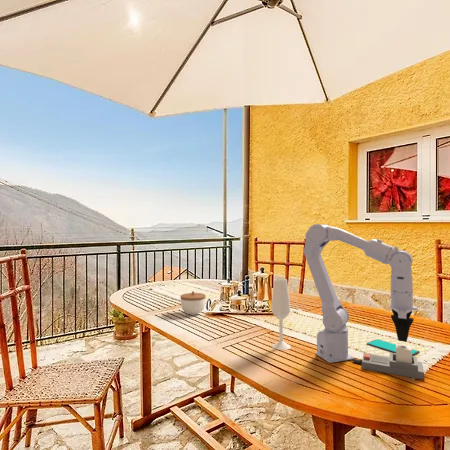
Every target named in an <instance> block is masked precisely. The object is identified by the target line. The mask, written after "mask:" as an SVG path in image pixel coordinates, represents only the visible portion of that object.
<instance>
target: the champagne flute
mask: <svg viewBox="0 0 450 450" xmlns="http://www.w3.org/2000/svg"><path fill="white" fill-rule="evenodd" d="M289 295H290V294H289V286H288V279H286V278H274V279H273V286H272V299H271V313H272V314H273V315H274V316H275V318H277V319H278V320H279V321H278V323H279V328H278V329H279V341H277V342H274V343H273V344H272V346H271V347H272V348H273V349H274V350H279V351H286V350H290V349H291V345H290V344H288V343H287V342H285V341H284V337H283V336H284V333H283V332H284V330H283V329H284V328H283V327H284V324H283V321H284V319H286V318H287V317H288V316H289V315H290V312H291V304H290V303H291V302H290V296H289Z"/></svg>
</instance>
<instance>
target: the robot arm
mask: <svg viewBox="0 0 450 450" xmlns="http://www.w3.org/2000/svg"><path fill="white" fill-rule="evenodd" d="M304 237H305V242H304V243H305V244H304V249H303V254H304V257H305V260H306V262H307V263H306V264H307V265H308V268H309V271H310V274H311V276H312V279H313V281H314V284H315V288H316V290H317V293H318V296H319V299H320V301H321V313H322V325H323V326H324V329H322V330H320V331H318V332H317V335H316V352H315V354H316V356H319V357H320V358H322V359H323V360H325V361H326V362H328V363H329V364H330V363H331V364H332V363H337V362H344V361H349V360H351V361H353V359H355V357H354V356H352V355H350V354H349V332H348V331H349V330H348V327H347V323H348V322H349V319H350V316H349V312H348V310H347V309H346V308H344V306H343V303H342V302H341V301H340V299H339V298H338V297H337V294H336V292H335V288H334V287H333V283H332V281H331V279H330V276H329V273H328V270H327V268H326V265H325V262H324V260H323V257H322V251H323V250H324V248H325V247H326V245H327V244H329V242H333V241H340V242H342V243H344V244H347V245H349V246H353V247H355V248H357V249H360V250H362V251H363V252H364V255H365V256H366V257H369V258H371V259H373V260H375V261H376V262H377V261H378V262H380V263H382V264H385V265H389V266H390V269H391V270H390V271H391V274H390V306H389V308H390V309H391V311H392V314H391V315H390V318H391V321H392V322H393V324H394V327H395V332H396V336H397V340H398V341H399V342H405V343H406V342H407V341H408V340H409V339H408V338H409V333H410V330H411V329H410V328H411V327H412V324H413V323H414V317H411V316H412V314H413V311H418V306H414V305H413V304H414V301H413V300H414V299H413V298H414V294H413V292H414V290H413V288H414V287H413V282H414V281H413V270H412V264H413V262H414V260H413V256H412V254H411V253H410V252H408V251H407V250H406V249H399V246H397V245H394V246H392V245H390V244H387V243H385V242H383V239H381V238H378V239H375V238H373V239H370V240H366V239H365V238H363V237H360V236H359V235H356V234H354V233H351V232H349V231H347V230H344V229H342V228H340V227H336V226H333V225H331V226H330V225H329V224H326V223H324V224H319V223H316V224H315V223H314V224H312V225H311V226H310V227H309V228H308V229H307V231H306V232H305V236H304Z"/></svg>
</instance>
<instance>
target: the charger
mask: <svg viewBox="0 0 450 450" xmlns="http://www.w3.org/2000/svg"><path fill="white" fill-rule="evenodd" d="M412 349H413V348H412V346H411V345H408V344H402V343H401V344H399V343H396V361H399V362H405V363H411V364H412Z"/></svg>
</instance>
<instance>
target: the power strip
mask: <svg viewBox="0 0 450 450" xmlns="http://www.w3.org/2000/svg"><path fill="white" fill-rule="evenodd" d="M352 362H353V363H356V364H361V369H362V370H363V369H364V370H368V371H374V372H380V373H385V374H391V375H398V376H400V377H407V378H412V379H419V380H424V381H425V371H424V365H423V361H418V357H417V356H416V355H414V356H412V364H411V363H405V362H399V361H396V353H392V352H389V356H385V355H379V354H372V353H366V352H364V353H363V355H362V359H357V358H354V359H352Z"/></svg>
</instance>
